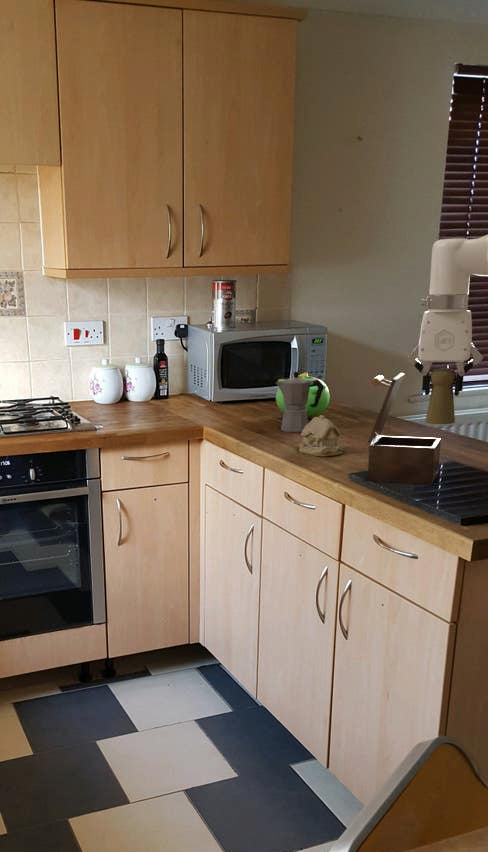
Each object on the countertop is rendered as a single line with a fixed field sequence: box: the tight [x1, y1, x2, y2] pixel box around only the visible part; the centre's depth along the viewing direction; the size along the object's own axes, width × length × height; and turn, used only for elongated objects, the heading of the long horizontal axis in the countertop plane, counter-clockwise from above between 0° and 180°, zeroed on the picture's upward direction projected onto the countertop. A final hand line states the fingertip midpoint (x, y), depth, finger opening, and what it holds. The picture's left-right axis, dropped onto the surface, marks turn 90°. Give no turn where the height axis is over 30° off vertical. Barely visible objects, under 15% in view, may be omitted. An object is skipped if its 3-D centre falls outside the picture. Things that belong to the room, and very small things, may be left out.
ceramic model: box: [298, 414, 344, 457], centre depth 239 cm, size 14×11×10 cm
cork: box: [424, 367, 457, 425], centre depth 183 cm, size 6×6×11 cm
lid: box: [367, 372, 405, 445], centre depth 205 cm, size 15×13×5 cm
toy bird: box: [275, 372, 331, 419], centre depth 295 cm, size 18×17×15 cm
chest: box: [367, 435, 442, 486], centre depth 206 cm, size 15×13×9 cm
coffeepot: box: [275, 371, 324, 433], centre depth 272 cm, size 15×9×18 cm, turn 63°
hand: (441, 393), depth 183 cm, fingers closed on cork, 5 cm apart
